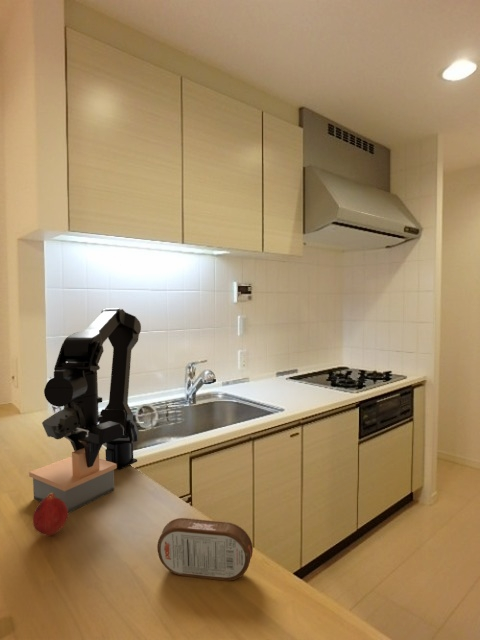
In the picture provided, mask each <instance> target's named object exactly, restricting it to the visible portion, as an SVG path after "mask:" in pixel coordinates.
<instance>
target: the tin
mask: <svg viewBox="0 0 480 640" xmlns="http://www.w3.org/2000/svg"><path fill="white" fill-rule="evenodd" d="M156 547H157V549H156V550H157V554H158V557H159V560H160V562H161V563H162V565H163V567H164V568H166V569H167V570H168V571H169V572H171V573H173V574H175V575H177V576H183V577H192V578H198V579H199V578H200V579H208V580H209V579H210V580H215V581H216V580H218V581H224V582H226V581H228V582H230V581H234V580H237V579H239V578H240V577H242V576H244V575H245V573H246V571H247V570H248V569H249V566H250V563H251V559H252V556H253V551H254V549H253V543H252V539H251V538H250V536H249V534H248V533H247V531H245V529H243V528H242V527H241V526H239V525H237V524H236V523H232V522H229V521H219V520H210V519H198V518H188V517H179V518H175V519H172V520H170V521H168V523H167V524H166V525H165V526H163V529H162V532H161V534H160V536H159V539H158V541H157V546H156Z"/></svg>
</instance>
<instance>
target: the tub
mask: <svg viewBox="0 0 480 640" xmlns="http://www.w3.org/2000/svg"><path fill="white" fill-rule="evenodd" d="M114 470H115V469H114ZM114 470H112V471H109V472H107V473H105V474H103V475H100V476H98V477H96V478H94V479H91V480H89V481H87V482H85V483H82V484H80V485H78V486H75V487H73V488H71V489H69V490H66V491H63V490H60V489H58V488H56V487H53V486H51V485H48V484H46V483H44V482H41V481H39V480H37V479H34V478H32V482H33V483H32V485H33V488H32V489H33V499H34V500H35V501H38V502H40V503H41V502H42V501H43V500H44V499H45V498H46V497H47V496H48V495H49V494H50V493H54V497H56V498H59V499H60V500H62V501H63V502H64V503H65V504H66V506H67V510H68V514H70V513H72V512H74V511H76V510H78V509H79V508H81V507H84V506H86V505H88V504H91V503H92V502H94V501H96V500H98V499H100V498H103V497H104V496H106V495H109V494H110V493H112V492H114V491H115V471H114Z"/></svg>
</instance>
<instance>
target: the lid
mask: <svg viewBox="0 0 480 640" xmlns="http://www.w3.org/2000/svg"><path fill="white" fill-rule="evenodd" d="M116 468H117V464H115V463H112V462H109V461H106V459H102V458H100V452H99V453H98V455H97V457H96V460H95V462H94V464H93V466H92V467H87V463H86V455H85V448H83V449H80V450H77V451H74V450H73V451H71V455H70V456H69V457H65V458H64V459H61V460H58V461H55V462H53V463H49V464H48V465H45V466H41V467H39V468H35V469H34V470H30V471H29V472H28V475H29V477H30V478H32V479H33V478H34V479H37V480H39V481H41V482H44V483H46V484H48V485H51V486H53V487H56V488H58V489H60V490H63V491H66V490H69V489H71V488H73V487H75V486H78V485H80V484H82V483H85V482H87V481H89V480H91V479H94V478H96V477H98V476H100V475H103V474H105V473H107V472H109V471H112V470H117V469H116Z"/></svg>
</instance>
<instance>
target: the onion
mask: <svg viewBox="0 0 480 640" xmlns="http://www.w3.org/2000/svg"><path fill="white" fill-rule="evenodd" d="M68 516H69V513H68V510H67V506H66V504H65V503H64V502H63V501H62V500H60V499H59V498H56V497H54V493H50V494H49V495H48V496H47V497H46V498H45V499H44V500H43V501H42V502H40V503H39V504H38V505H37V506H36V508H35V510H34V512H33V516H32V524H33V527H34V529H35V530H36V532H39V533H40V534H42V535H45V536H48V537H53V536H55V535H56V534H57V533H58V532H59V531H60V530H61V529H63V527H64V525H65V524H66V522H67V520H68V519H69V517H68Z"/></svg>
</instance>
